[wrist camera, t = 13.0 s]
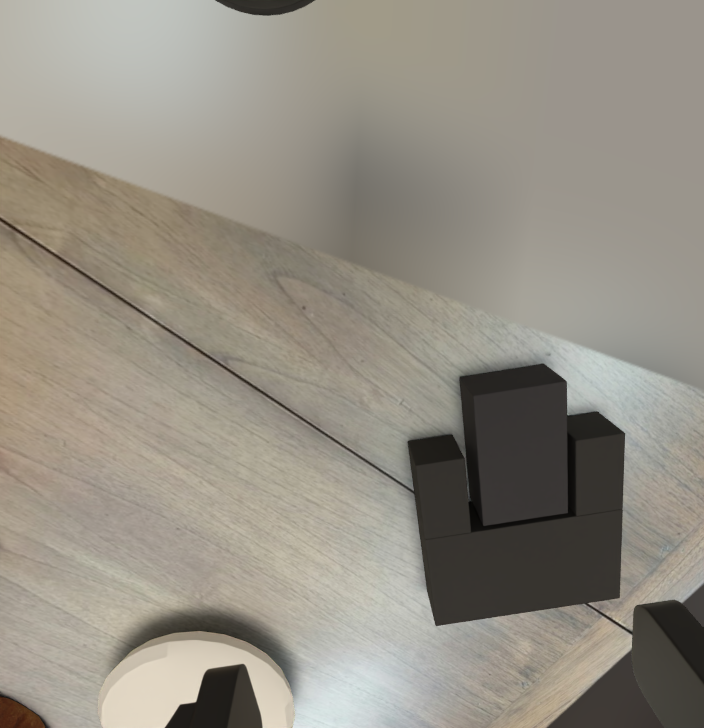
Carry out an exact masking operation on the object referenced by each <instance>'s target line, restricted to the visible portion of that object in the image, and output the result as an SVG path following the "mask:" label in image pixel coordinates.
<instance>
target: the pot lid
mask: <svg viewBox="0 0 704 728" xmlns="http://www.w3.org/2000/svg"><path fill="white" fill-rule="evenodd" d="M238 664H245V666H246V668H247V670H248V674H249V677H250V680H251V683H252V687H253V690H254V693H255V697H256V700H257V703H258V706H259V710H260V713H261V718H262V727H263V728H292V727H293V723H294V718H295V711H294V703H293V696H292V692H291V689H290V685H289V683H288V681H287V679H286V677H285V675H284V673H283V671H282V669H281V668H280V667H279V666H278V665H277V664H276V663H275V662H274V661H273V660H272V659H271V658H270V657H269V656H268V655H267V654H266V653H264V652H263V651H261V650H260V649H258V648H256V647H255V646H253V645H251V644H250V643H248V642H246V641H243V640H240V639H237V638H234V637H231V636H228V635H225V634H218V633H210V632H202V631H194V632H180V633H172V634H169V635H165V636H162V637H158V638H155V639H151V640H149V641H148V642H146V643H144V644H142V645H141V646H139V647H137V648H135V649H134V650H132V651H131V652H130V653H129V654H128V655H127V656H126V657H125V658H124V659H123V660H122V661H121V662H120V663H119V664H118V665H117V666H116V667H115V668H114V669H113V671H112V672H111V673H110V674H109V675H108V676H107V678H106V680H105V682H104V684H103V686H102V688H101V690H100V693H99V699H98V715H99V719H100V722H101V725H102V728H165V727H166V725H167V724H168V722H169V721H170V719H171V717H172V716H173V714H174V713H175V711H176V710H177V708H178V707H179V705H180V704H187V703H194V702H196V700H197V697H198V693H199V689H200V686H201V682H202V679H203V676H204V673H205V672H206V670H207V669H211V668H218V667H224V666H231V665H238Z"/></svg>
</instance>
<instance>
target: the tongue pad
mask: <svg viewBox="0 0 704 728" xmlns="http://www.w3.org/2000/svg"><path fill="white" fill-rule="evenodd" d="M460 389H461V400H462V412H463V423H464V435H465V446H466V458H467V469H468V481H469V492H470V498H471V501H472V503H473V505H474V507H475V509H476V511H477V513H478V516H479V518H480V520H481V522H482V524H483V526H487V525H493V524H500V523H506V522H513V521H519V520H526V519H532V518H539V517H545V516H552V515H558V514H565V513H568V466H567V382H566V380H564V379H563V378H562V377H560V376H559V375H558V374H556V373H555V372H554V371H553V370H551V369H550V368H549V367H547V366H546V365H545V364H540V365H534V366H527V367H521V368H515V369H508V370H502V371H496V372H489V373H483V374H477V375H470V376H464V377H460Z"/></svg>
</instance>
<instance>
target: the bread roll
mask: <svg viewBox="0 0 704 728" xmlns="http://www.w3.org/2000/svg"><path fill="white" fill-rule="evenodd" d="M0 728H45V726H44V724H43V722H42V721H41V719H40V718H39V716H38V715H36V714H35V713H33V712H32V711H30V710H29V709H27V708H26V707H24V706H23V705H21V704H19V703H17V702H15V701H13V700H11V699H8V698H4V697H1V696H0Z"/></svg>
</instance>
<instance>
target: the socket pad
mask: <svg viewBox="0 0 704 728" xmlns="http://www.w3.org/2000/svg"><path fill="white" fill-rule="evenodd" d="M408 447H409V455H410V462H411V470H412V478H413V486H414V493H415V501H416V509H417V516H418V524H419V532H420V539H421V547H422V555H423V562H424V570H425V578H426V585H427V592H428V596H429V600H430V604H431V608H432V613H433V617H434V621H435V625H436V626H439V625H446V624H452V623H459V622H465V621H472V620H479V619H485V618H492V617H498V616H505V615H511V614H518V613H525V612H531V611H538V610H544V609H551V608H558V607H564V606H571V605H577V604H584V603H590V602H597V601H604V600H610V599H617V598H620V571H621V541H622V512H623V510H622V507H623V478H624V448H625V433H624V432H623V431H621V430H620V429H619V428H618V427H616V426H615V425H614V424H613V423H611V422H610V421H609V420H608V419H606V418H605V417H604V416H602V415H601V414H600V413H599V412H593V413H586V414H580V415H574V416H567V466H568V513H565V514H558V515H552V516H545V517H539V518H532V519H526V520H519V521H513V522H506V523H500V524H493V525H487V526H483V524H482V522H481V520H480V518H479V516H478V513H477V511H476V509H475V507H474V505H473V503H472V502H468V491H467V480H466V469H465V458H464V456H463V455H462V453H461V451H460V449H459V447H458V445H457V443H456V441H455V439H454V437H453V435H445V436H439V437H433V438H426V439H420V440H413V441H408Z"/></svg>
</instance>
